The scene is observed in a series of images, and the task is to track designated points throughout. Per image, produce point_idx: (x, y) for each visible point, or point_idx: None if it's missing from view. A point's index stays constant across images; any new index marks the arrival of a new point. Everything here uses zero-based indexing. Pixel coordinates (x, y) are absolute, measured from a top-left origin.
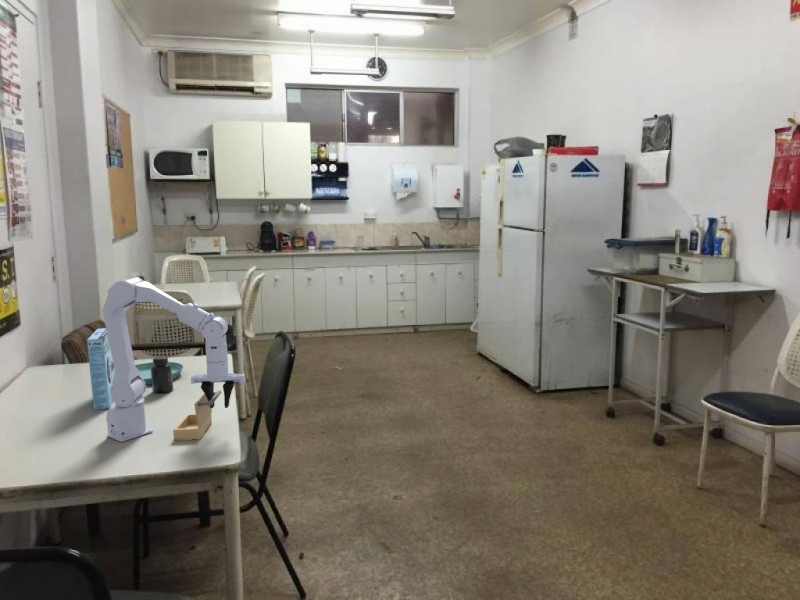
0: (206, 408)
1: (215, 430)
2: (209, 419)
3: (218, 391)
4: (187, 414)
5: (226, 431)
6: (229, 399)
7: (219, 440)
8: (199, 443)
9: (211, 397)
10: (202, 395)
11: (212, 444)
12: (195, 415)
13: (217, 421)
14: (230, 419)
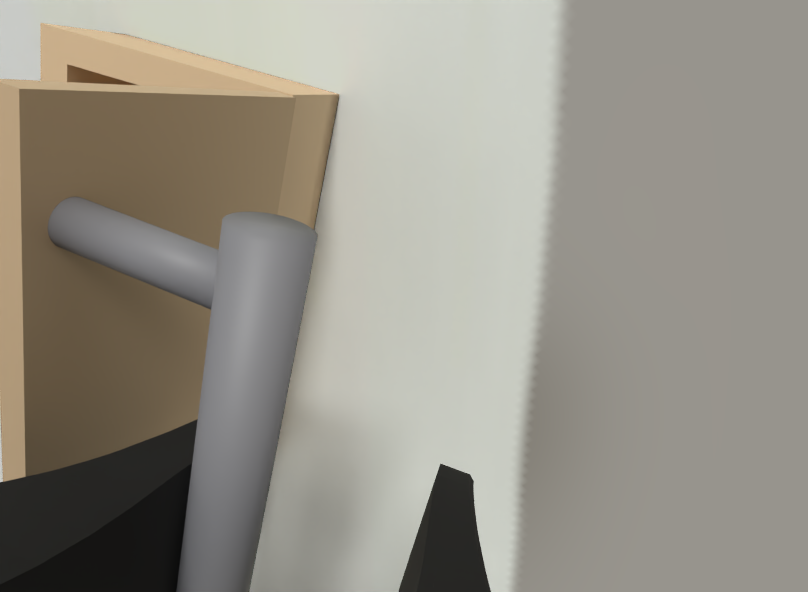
0: (199, 310)
1: (377, 302)
2: (297, 177)
3: (243, 324)
4: (48, 43)
5: (469, 365)
6: (474, 541)
7: (407, 520)
8: (276, 507)
9: (167, 588)
10: (8, 416)
11: (360, 562)
12: (136, 82)
13: (394, 41)
14: (538, 15)
